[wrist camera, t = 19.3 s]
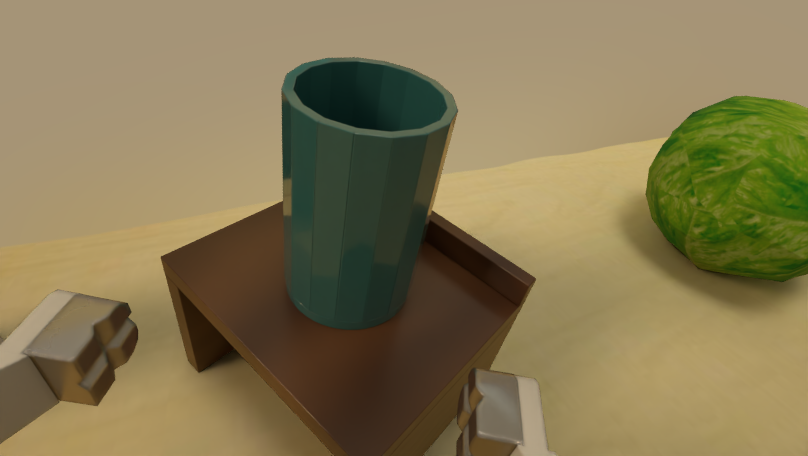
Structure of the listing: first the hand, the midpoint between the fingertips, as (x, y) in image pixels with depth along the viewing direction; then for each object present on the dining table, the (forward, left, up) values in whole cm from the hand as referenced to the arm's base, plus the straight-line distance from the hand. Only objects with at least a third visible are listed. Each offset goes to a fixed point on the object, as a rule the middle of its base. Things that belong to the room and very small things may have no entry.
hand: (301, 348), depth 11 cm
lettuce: (-10, -45, -17) cm, 49 cm away
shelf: (+5, -8, -17) cm, 19 cm away
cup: (+5, -8, -8) cm, 12 cm away
